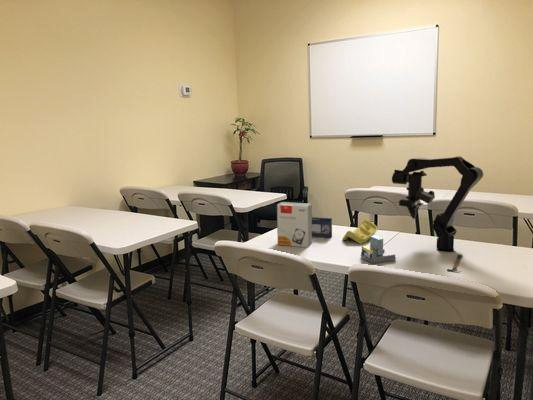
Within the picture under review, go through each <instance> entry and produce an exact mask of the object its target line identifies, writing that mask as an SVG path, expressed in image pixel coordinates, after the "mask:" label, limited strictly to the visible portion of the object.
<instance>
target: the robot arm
mask: <svg viewBox="0 0 533 400" xmlns="http://www.w3.org/2000/svg"><path fill="white" fill-rule="evenodd" d="M445 167H454V168H455V169H456V170H457V172H458V174H460V175H461V176H462V177H461V179H460V185H459V187H458V188H457V191H456V192H455V194H454V195H453V196H452V198H451V200H450V202H449V204H448V206H446V209H445V211H444V212H440V213H438V214H437V215H436V216H435V217H434V218H435V219H434V220H433V221H432V223H433V224H432V229H433V231H434V232H435V235H436V237H437V238H436V249H437V251H438V252H439V251H441V252H452V253H453V252H454V251H455V250H454V249H455V248H454V242H455V236H456V234H457V229H456V228H455V227H454V226H453V224H454V219H455V215H456V214H457V212H458V210H459V209H460V207H461V205H462V204H463V203H464V201H465V199H466V198H467V195H468V194H469V193H470V191H471V189H473V188H474V187H475V186H476V185H477V184H478V183H479V182H480V181H481V180H482V178H483V177H484V171H483V170H482V169H481V167H477V166H475V165H474V164H473V163H471V162H469V161H468V160H466V159H465V158H464V157H462V156H459V155H458V156H454V157H443V158H442V157H441V158H439V157H438V158H426V157H415V158H414V157H413V158H410V159H408V160H407V163H406V166H405V167H404V169H399V168H398V169H397V168H396V169H394V171H393V173H392V176H391V183H392V184H396V185H408V186H407V187H406V190H407V196H405V198H401V199H400V200H399V201H398V206H401V207H406V208H407V210H408V212H409V214H410V216H411V218H412V219H413V220H414V219H416V218H417V215H418V212H419V210H420V207H421V206H423V205H424V203H425V204H430V203H432V202H433V200H434V199H435V198H436V195H435V191H433V190H429V191H425V190H424V189H425V188H424V187H422V185H423V182H422V181H423V177H425V176H427V173H426V172H425V171H424V170H425V169H428V168H445ZM422 201H423V202H424V203H423V202H422Z"/></svg>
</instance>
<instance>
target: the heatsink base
mask: <svg viewBox="0 0 533 400" xmlns="http://www.w3.org/2000/svg"><path fill="white" fill-rule="evenodd" d="M366 251H367V252H369V253H371V254H372V257H371V259H370V258H368V257H366V256H364V252H366ZM360 258H361V259H362V260H364V261H365V262H367V263H369V264H371V265H377V264H383V263H384V262H385V263H389V262H396V259H397V258H396V254H394V253H391V254H390V253H388V252H386V251H385V248H383V256H377V251H375V250H373V249H371V248H370V246H369V247H368V246H367V245H362V246H361V252H360Z"/></svg>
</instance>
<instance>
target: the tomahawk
mask: <svg viewBox="0 0 533 400" xmlns="http://www.w3.org/2000/svg"><path fill="white" fill-rule="evenodd" d="M463 257H464V256H463V255H462V254H460V253H458V254H457V256H456V259H455V261H454V265H453V267H452V269H450V268H447V270H446V271H447V272H450V273H456V274H460V273H461V272H462V271H461V270H458V269H457V267H458V266H459V263H460V262H461V260H462V258H463Z"/></svg>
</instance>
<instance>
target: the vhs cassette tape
mask: <svg viewBox="0 0 533 400" xmlns="http://www.w3.org/2000/svg"><path fill="white" fill-rule="evenodd" d="M322 237H323V239H331V238H332V237H333V219H332V217H318V216H317V217H316V216H315V217H314V216H312V238H322Z"/></svg>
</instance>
